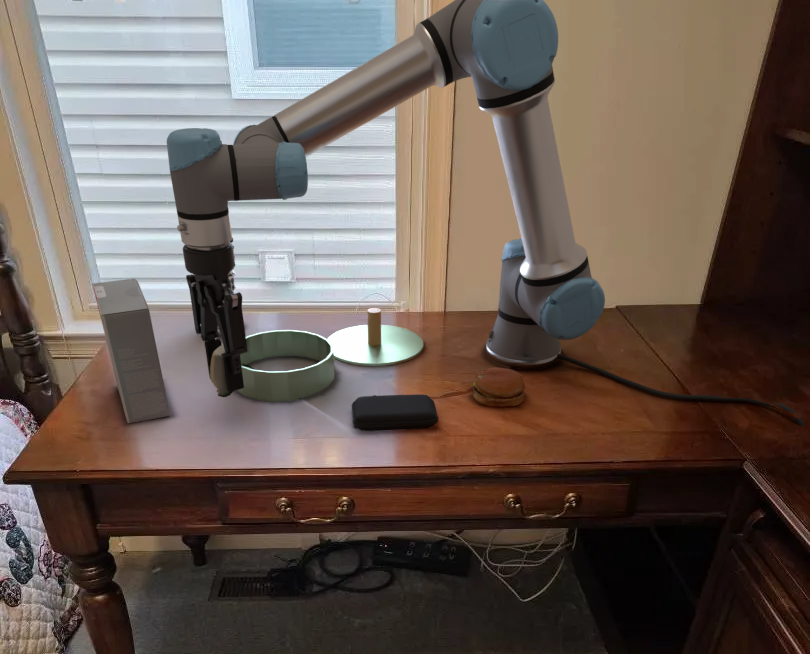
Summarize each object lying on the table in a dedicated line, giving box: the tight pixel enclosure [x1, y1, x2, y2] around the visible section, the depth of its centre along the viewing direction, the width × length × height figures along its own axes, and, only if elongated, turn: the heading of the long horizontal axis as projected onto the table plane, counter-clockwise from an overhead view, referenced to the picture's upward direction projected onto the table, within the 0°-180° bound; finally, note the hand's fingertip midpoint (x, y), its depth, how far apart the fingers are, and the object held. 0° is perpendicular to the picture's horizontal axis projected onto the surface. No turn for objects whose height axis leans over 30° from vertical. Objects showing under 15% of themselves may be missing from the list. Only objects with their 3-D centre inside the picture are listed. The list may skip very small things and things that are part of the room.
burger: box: [472, 367, 526, 408], centre depth 138 cm, size 10×9×5 cm
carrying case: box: [351, 393, 439, 432], centre depth 132 cm, size 11×3×15 cm
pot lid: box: [327, 307, 424, 367], centre depth 155 cm, size 20×20×8 cm
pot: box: [235, 329, 336, 403], centre depth 144 cm, size 20×20×6 cm
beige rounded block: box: [209, 344, 235, 398], centre depth 126 cm, size 6×5×8 cm
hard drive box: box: [92, 278, 171, 424], centre depth 131 cm, size 16×8×20 cm, turn 23°
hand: (226, 382), depth 128 cm, fingers closed on beige rounded block, 5 cm apart
